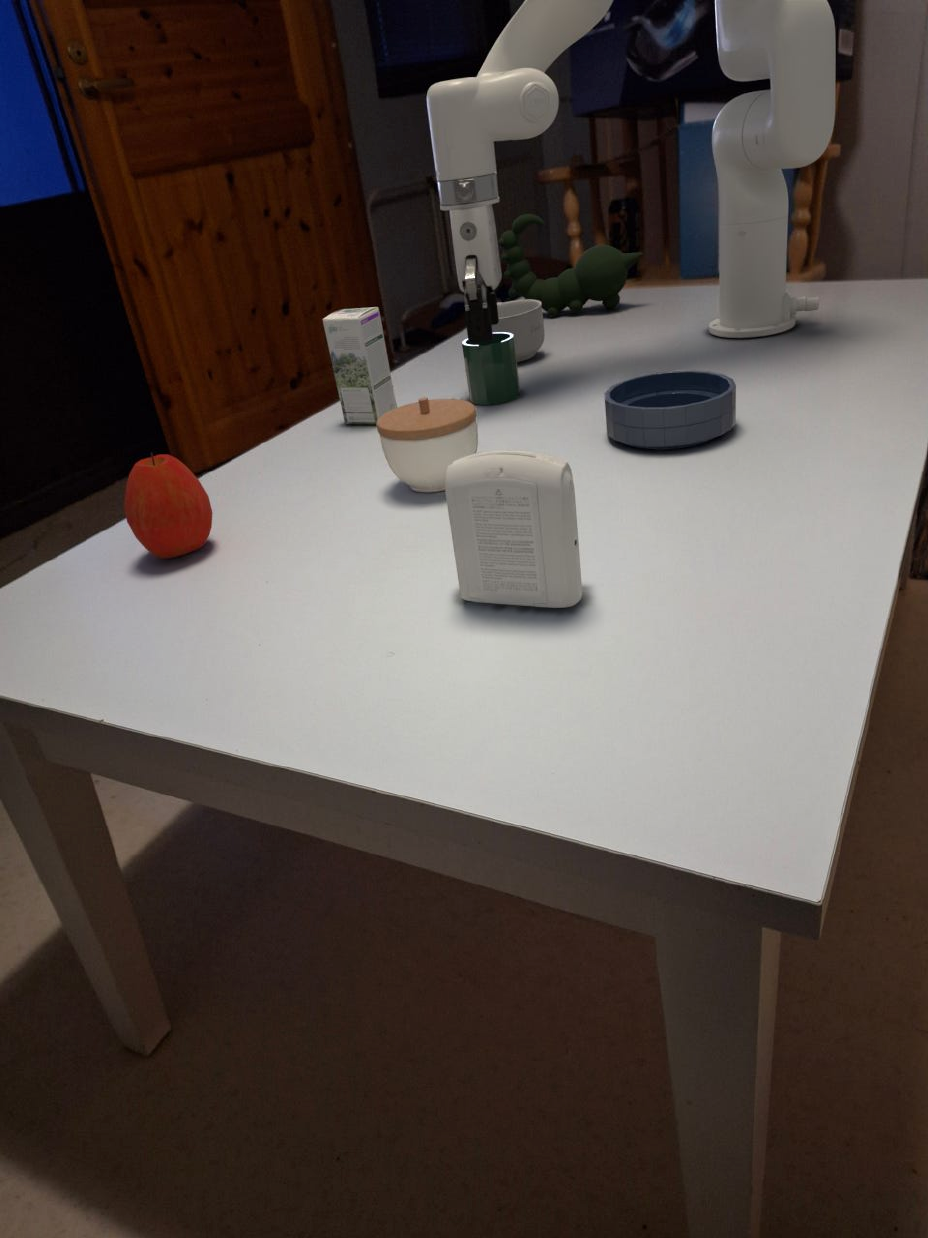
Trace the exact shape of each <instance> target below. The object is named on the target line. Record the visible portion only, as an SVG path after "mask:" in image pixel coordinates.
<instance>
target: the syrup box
mask: <svg viewBox="0 0 928 1238" xmlns="http://www.w3.org/2000/svg"><path fill="white" fill-rule="evenodd" d="M322 324H323V329H324V334H325V339H326V342H327V347H328V351H329V356H330V360H331V365H332V371H333V375H334V379H335V383H336V389H337V393H338V397H339V401H340V406H341V411H342V415H343V420H344V421H343V422H344V424H345V425H376V423H377V420H378V419H379V418H380V417H381V416H382V415H383V414H385V413H387V412H388V411H390V410H393V409H395V408H398V403H397V398H396V395H395V389H394V385H393V379H392V374H391V373H392V372H391V367H390V364H389V358H388V353H387V346H386V341H385V334H384V329H383V324H382V319H381V314H380V309H379V307H378V306H373V307H360V308H359V307H358V308H357V307H356V308H343V309H339V310H336V311H334V312H332V313H330V314H328V315H327V316H325V317H324V318H322Z"/></svg>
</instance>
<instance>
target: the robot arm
mask: <svg viewBox="0 0 928 1238" xmlns="http://www.w3.org/2000/svg"><path fill="white" fill-rule="evenodd" d="M613 2H614V0H524V1H523V3H522V4H521V5H520V7H519V8H518V9H517V11H515V14H514V15H513V16H512V17H511V18H510V20H509V21H508V23H506V26H505V27H504V28H503V30H502V31H501V33H500V34H499V36H498V37H497V38H496V40H495V42H494V44H493V46H492V47H491V49H490V50H489V52H488V53H487V56H486V58H485V60H484V62H483V64H482V66H481V68H480V70H479V71H478V73H477V75H476V76H474V77H473V76H472V77H471V76H470V77H462V78H454V79H449V80H443V81H439V82H435V83H434V84H432V85H431V86H430V87H429V88H428V90H427V94H426V107H427V115H428V124H429V131H430V139H431V147H432V153H433V161H434V170H435V176H436V177H435V179H436V185H437V193H438V202H439V208H440V211H449V219H450V229H451V239H452V246H453V247H452V248H453V254H454V263H455V269H456V270H455V271H456V277H457V281H458V287H459V290H460V291H461V292H463V293H464V309H465V310H464V318H465V325H466V336H467V339H468V341H469V342H481V341H490V340H492V338H493V333H492V325H496V324H498V322H499V318H498V309H497V303H498V301H497V300H498V299H497V293H495V290H496V289H497V288H498V287H499V284H500V283H501V280H502V278H503V273H502V267H501V260H500V259H501V257H500V252H499V244H498V234H497V227H496V220H495V213H494V208H493V205H494V204H496V203H497V204H498V203H500V193H499V183H498V173H497V163H496V162H497V161H496V152H495V142H505V141H521V140H528V139H532V138H535V137H538V136H540V135H541V134H543V133H544V132H546V130H548V128H550V126H552V124H553V123H554V121H555V119H556V117H557V114H558V110H559V104H560V98H559V93H558V92H559V91H558V89H557V86H556V84H555V82H554V81H553V79H552V78H550V76H549V75H548V74H546V71H547V70H548V68H549V67H551V65H552V64H553V63H554V61H556V59H558V58H559V56H560V55H561V54H562V53H564V52H565V51H566V50H567V49H568V48H569V47H571V46H572V45H573V44H574V43H576V42H578V41H579V40H580V39H582V37H584V36H585V35H587V34H588V33H589V32H591V30H593V29H594V27H596V25H598V24H599V22H600V21H602V19H603V18H604V17H605V16H606V15H607V13H608V12H609V10H610V8H611V6H612V4H613ZM714 10H715V29H716V44H717V45H716V46H717V56H718V63H719V67H720V69H721V71H722V73H723V74H724V76H725V77H727V78H728V79H730V80H732V81H735V82H752V81H758V80H767V79H768V80H769V81H770V82H769V83H770V89H764V90H757V91H752V92H747V93H743V94H740V95H738V96H736V97H733V98H732V99H731V100H729V101H728V102H727V103H726V104H725V105H724V106H723V107H722V108H721V110H720V111H719V112H718V113H717V116H716V117H715V120H714V122H713V126H712V130H711V149H712V156H713V161H714V166H715V171H716V178H717V189H718V231H719V232H718V235H719V238H718V239H719V240H718V242H719V244H718V245H719V247H718V251H719V252H718V257H719V258H718V259H719V260H718V261H719V262H718V263H719V266H718V267H719V268H718V269H719V270H718V271H719V272H718V273H719V274H718V275H719V279H718V280H719V281H718V284H719V293H718V294H719V302H718V303H719V305H718V306H719V310H718V311H719V317H717V318H715V319H713V320H712V321H711V322H709V324H708V332H709V333H710V334H711V335H713V336H716V337H721V338H730V339H747V338H759V337H767V336H772V335H776V334H781V333H783V332H786V331H789V330H791V329H792V328H794V327H795V325H796V316H795V315H796V314H797V312H803V311H804V312H812V311H818V310H819V307H820V298H819V296H808V297H807V296H806V295H803V296H798V297H793V296H792V297H791V296H790V295H789V294H788V293H787V292H786V290H787V289H786V288H787V261H788V260H787V259H788V258H787V256H788V227H789V225H788V224H789V193H788V186H787V181H786V179H785V176H784V173H783V170H788V169H789V170H790V169H800V168H804V167H807V166H809V165H811V164H813V163H815V162H816V161H817V160H819V159H820V157H821V156H823V154H824V153H825V151H826V149H827V148H828V146H829V144H830V142H831V140H832V139H831V138H832V136H833V133H834V132H833V131H834V127H835V118H836V53H837V52H836V49H837V47H836V44H837V43H836V25H835V18H834V14H833V12H832V8H831V6H830V4H829V2H828V0H714Z"/></svg>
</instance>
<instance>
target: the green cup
mask: <svg viewBox="0 0 928 1238" xmlns="http://www.w3.org/2000/svg"><path fill="white" fill-rule="evenodd" d="M461 342H462V343H461V348H462V354H463V362H464V368H465V369H464V370H465V375H466V383H467V390H468V396H469V400H470V401H469V402H470V403H472V404H473V405H474V404H475V405H479V406H491V405H500V404H504V403H508V402H511V401H513V400H515V399H517V398H519V397H520V395H521V391H520V389H521V387H520V385H521V384H520V378H519V377H520V376H519V369H518V362H517V358H516V350H515V341H514V335H513V334H511V333H505V332H498V333H493V338H492V340H490V341H481V342H469V341H468V338H466V339H464V340H462V341H461Z"/></svg>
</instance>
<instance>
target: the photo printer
mask: <svg viewBox="0 0 928 1238" xmlns="http://www.w3.org/2000/svg"><path fill="white" fill-rule="evenodd" d="M570 465H571V464H569V462H567V461H565V460H562V459H560V458H558V457H555V456H551V455H547V454H543V453H539V452H534V451H527V450H526V451H525V450H515V449H514V450H513V449H501V450H499V449H498V450H488V451H482V452H477V453H476V454H473V455H469V456H466V457H463V458H460V459H458V460H456V461H453V464H452V465H449V466H448V468H447V472H446V479H445V490H444V492H445V493H444V494H445V500H446V507H447V512H448V520H449V527H450V532H451V533H450V534H451V538H452V546H453V553H454V560H455V565H456V573H457V574H456V575H457V581H458V588H459V593H460V597H461V599H462V600H464V601H469V602H474V603H484V604H485V603H487V604H498V605H510V606H524V607H525V606H526V607H536V608H553V609H557V608H559V609H560V608H563V609H564V608H571V607H574V606H575V605H577V604H578V603H579V602H580V601H581V600H582V597H583V584H582V569H581V557H580V556H581V555H580V543H579V542H580V541H579V532H578V531H579V530H578V516H577V515H578V514H577V503H576V502H577V501H576V490H575V489H576V488H575V484H574V477H573V472H572V468H571V466H570Z"/></svg>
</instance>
